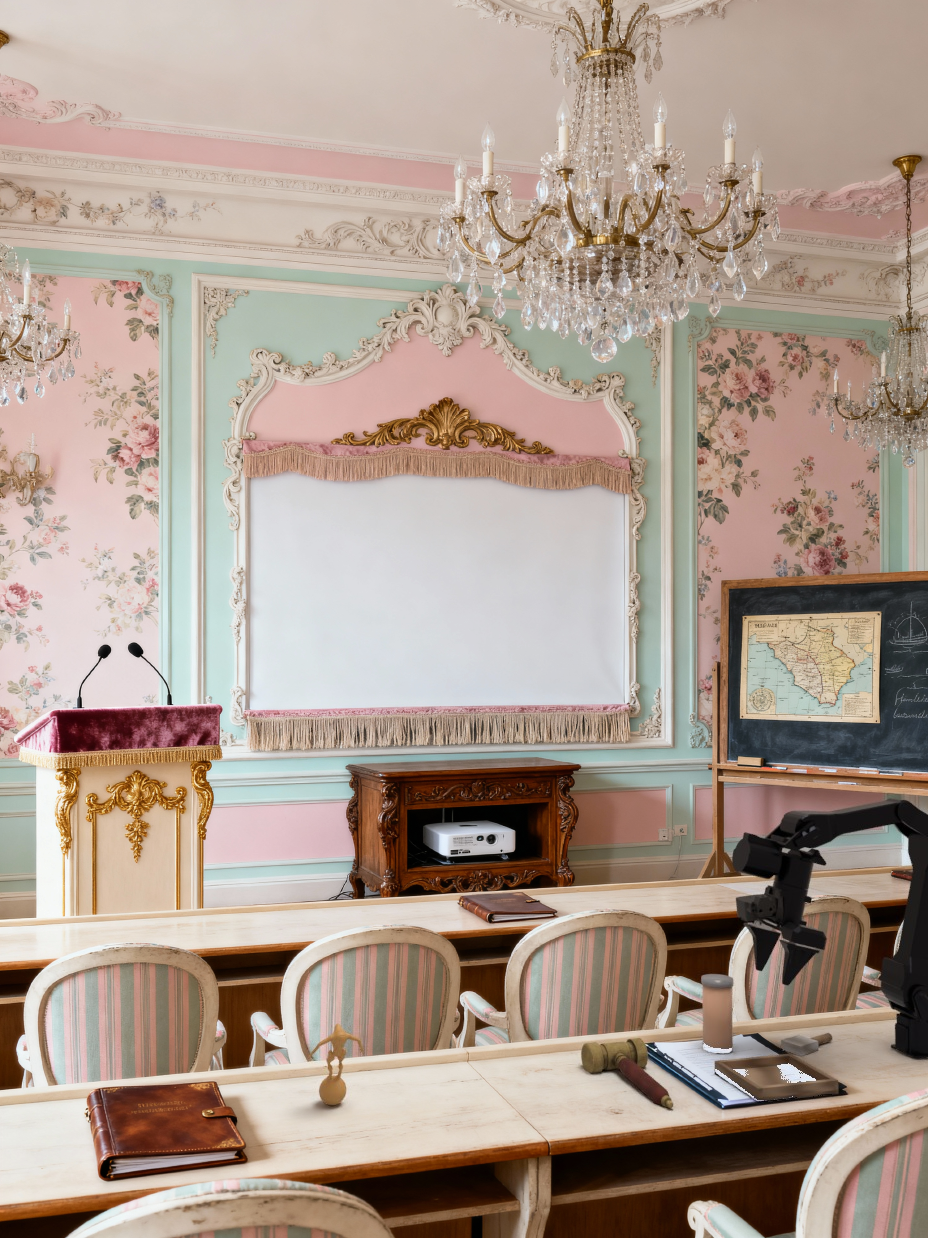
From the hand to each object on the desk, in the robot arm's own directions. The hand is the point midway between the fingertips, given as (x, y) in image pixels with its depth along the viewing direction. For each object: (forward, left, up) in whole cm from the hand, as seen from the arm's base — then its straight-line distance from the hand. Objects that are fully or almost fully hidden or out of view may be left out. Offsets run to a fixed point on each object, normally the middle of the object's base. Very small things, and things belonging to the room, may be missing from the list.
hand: (771, 977), depth 176 cm
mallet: (-10, -4, -14) cm, 17 cm away
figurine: (+74, +2, -14) cm, 75 cm away
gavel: (+27, +5, -14) cm, 31 cm away
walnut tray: (+6, +9, -14) cm, 17 cm away
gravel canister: (+6, -7, -14) cm, 17 cm away
